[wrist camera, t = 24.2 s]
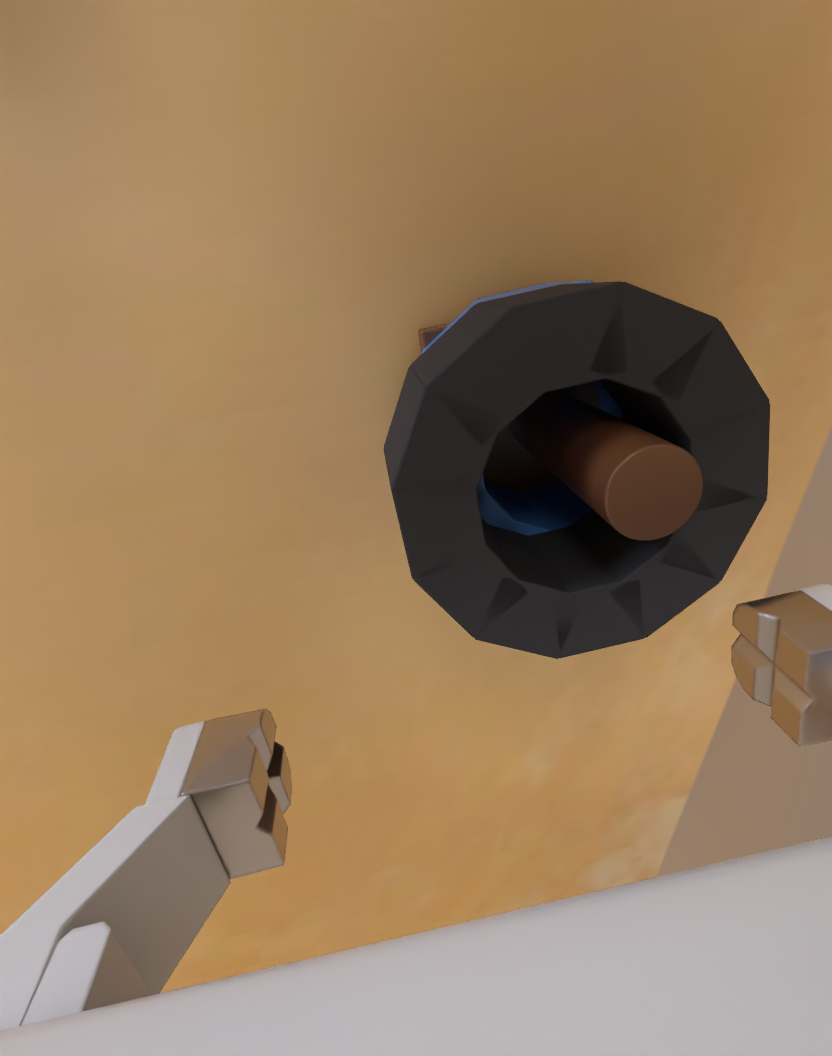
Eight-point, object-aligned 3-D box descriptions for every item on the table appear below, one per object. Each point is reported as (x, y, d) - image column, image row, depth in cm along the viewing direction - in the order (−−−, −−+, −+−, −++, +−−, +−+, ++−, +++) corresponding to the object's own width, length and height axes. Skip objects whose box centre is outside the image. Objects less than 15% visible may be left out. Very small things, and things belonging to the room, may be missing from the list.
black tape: (355, 330, 20) (356, 341, 15) (681, 256, 20) (776, 246, 15) (422, 614, 24) (437, 687, 19) (689, 552, 24) (765, 611, 20)
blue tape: (378, 321, 24) (384, 328, 20) (643, 259, 24) (708, 252, 20) (433, 561, 28) (447, 611, 24) (657, 507, 28) (713, 547, 24)
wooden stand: (417, 329, 26) (469, 359, 14) (616, 289, 26) (827, 286, 14) (450, 516, 29) (513, 663, 18) (625, 480, 29) (802, 602, 18)
